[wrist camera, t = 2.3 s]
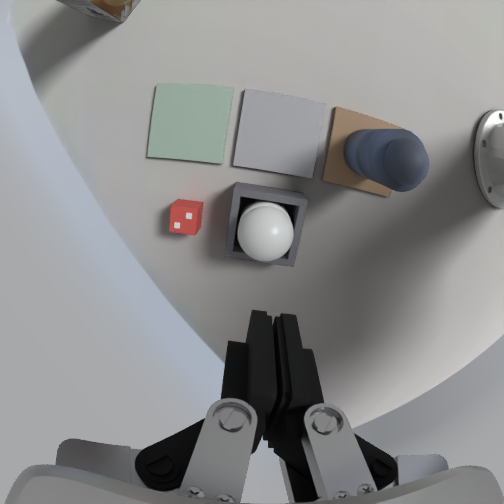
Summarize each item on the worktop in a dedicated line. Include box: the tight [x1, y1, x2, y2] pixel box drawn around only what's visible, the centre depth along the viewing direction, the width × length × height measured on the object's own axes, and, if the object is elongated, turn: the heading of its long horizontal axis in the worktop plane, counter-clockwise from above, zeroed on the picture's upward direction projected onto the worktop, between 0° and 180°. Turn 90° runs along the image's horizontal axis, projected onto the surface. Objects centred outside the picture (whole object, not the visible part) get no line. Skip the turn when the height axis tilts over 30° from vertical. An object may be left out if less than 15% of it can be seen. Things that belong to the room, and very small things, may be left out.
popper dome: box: [238, 199, 294, 261], centre depth 22 cm, size 4×4×5 cm
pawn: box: [343, 129, 429, 192], centre depth 18 cm, size 4×4×9 cm
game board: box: [147, 83, 404, 267], centre depth 22 cm, size 23×14×3 cm, turn 81°
